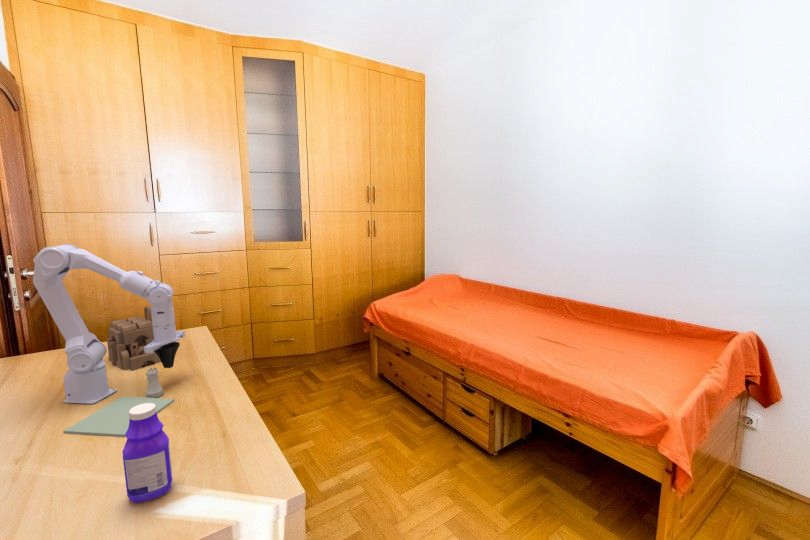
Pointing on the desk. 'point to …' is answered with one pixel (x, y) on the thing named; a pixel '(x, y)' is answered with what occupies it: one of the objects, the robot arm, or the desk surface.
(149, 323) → the wooden puzzle
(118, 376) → the desk surface
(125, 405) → the mat
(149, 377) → the rook chess piece
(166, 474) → the bottle
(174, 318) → the robot arm
